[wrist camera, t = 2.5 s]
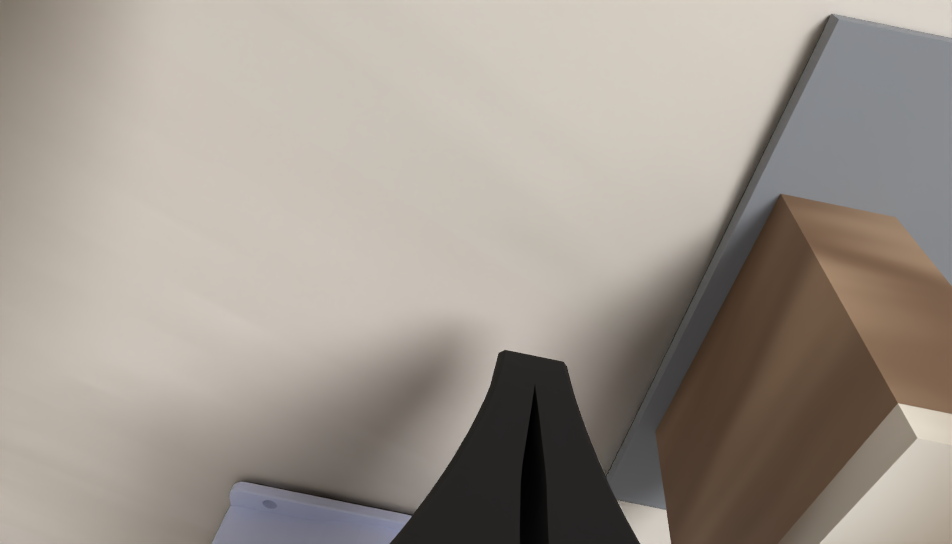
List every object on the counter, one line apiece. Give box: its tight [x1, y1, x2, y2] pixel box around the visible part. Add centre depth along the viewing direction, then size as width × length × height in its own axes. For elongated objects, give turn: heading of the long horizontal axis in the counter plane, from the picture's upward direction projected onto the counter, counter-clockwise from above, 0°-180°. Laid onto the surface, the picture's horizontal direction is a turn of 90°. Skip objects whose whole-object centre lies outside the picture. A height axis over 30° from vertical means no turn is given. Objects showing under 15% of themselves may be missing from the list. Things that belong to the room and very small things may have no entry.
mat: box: [606, 14, 952, 510], centre depth 16 cm, size 10×15×1 cm, turn 170°
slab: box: [655, 194, 952, 544], centre depth 13 cm, size 2×8×6 cm, turn 170°
